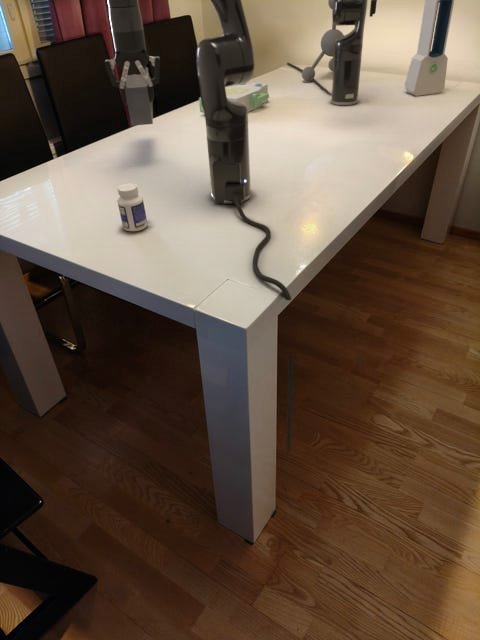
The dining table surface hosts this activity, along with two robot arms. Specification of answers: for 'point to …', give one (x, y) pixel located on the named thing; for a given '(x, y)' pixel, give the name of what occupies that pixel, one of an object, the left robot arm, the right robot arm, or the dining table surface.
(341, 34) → the molecular model
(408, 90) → the electronic device
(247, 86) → the decorative block
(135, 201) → the pill bottle
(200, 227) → the dining table surface
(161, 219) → the dining table surface
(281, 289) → the left robot arm
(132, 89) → the bar
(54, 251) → the dining table surface
